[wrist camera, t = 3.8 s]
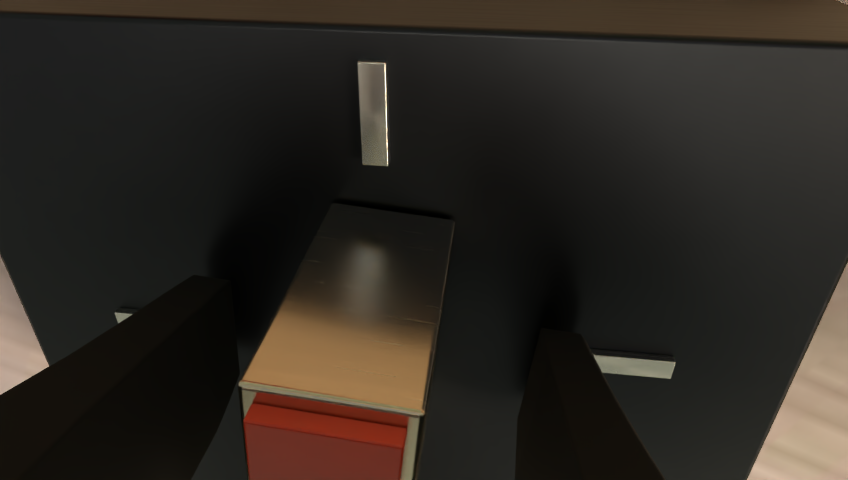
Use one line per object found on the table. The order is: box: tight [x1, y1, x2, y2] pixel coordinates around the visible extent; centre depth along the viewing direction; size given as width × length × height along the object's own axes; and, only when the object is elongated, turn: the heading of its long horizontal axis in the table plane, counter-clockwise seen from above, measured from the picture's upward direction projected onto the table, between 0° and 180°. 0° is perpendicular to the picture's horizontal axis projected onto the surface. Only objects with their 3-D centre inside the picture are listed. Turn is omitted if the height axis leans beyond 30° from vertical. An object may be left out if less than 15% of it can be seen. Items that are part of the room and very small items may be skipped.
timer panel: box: [0, 0, 848, 480], centre depth 11 cm, size 13×10×3 cm
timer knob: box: [238, 203, 455, 480], centre depth 8 cm, size 5×2×4 cm, turn 174°
